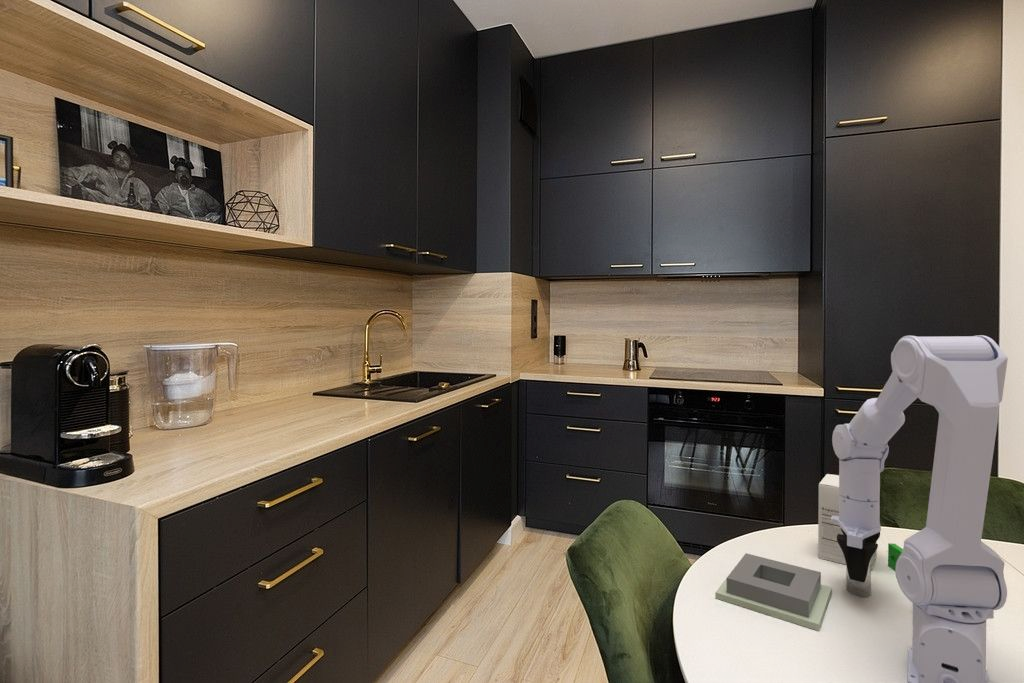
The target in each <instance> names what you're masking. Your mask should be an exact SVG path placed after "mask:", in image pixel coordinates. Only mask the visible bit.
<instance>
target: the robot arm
mask: <svg viewBox="0 0 1024 683" xmlns="http://www.w3.org/2000/svg"><path fill="white" fill-rule="evenodd" d="M890 364H891V370H892V372H891V375H890V376H889V378H888V380H887V381H886V382H885V384H884V386H883V388H882V390H881V392H880V393H879V395H878V397H872V398H869V399H866V401H864V402H863V404H862V405H861V407H860V408H859V409H858V411H857V413H856V414H855V415H854V416H853V418H852V419H851V420H850V422H849V423H844V424H837V425H836V426H835V427H834V430H833V431H832V438H831V441H832V442H831V443H832V447H833V451H834V454H835V455H836V457H837V458H838V463H839V466H838V470H839V471H838V475H839V516H832V517H831V522H833V523H837V524H838V525H839V526H840V527H841V531H842V533H843V535H842V534H838V535H837V542H838V544H839V546H840V547H841V549H842V551H843V554H844V557H845V561H846V565H845V567H846V566H847V571H848V575H849V578H850V579H852V580H855V581H859V582H863V583H864V582H865V580H866V577H867V572H868V567H869V563H870V560H871V557H872V556H873V554H874V553H875V551H876V550H877V551H878V548H879V544H878V543H877V544H875V543H876V541H878V540H879V539H880V537H881V530H882V526H881V521H880V518H881V517H880V514H881V512H880V511H881V510H880V508H881V507H880V506H881V505H880V501H881V500H880V499H881V498H880V495H881V493H880V492H881V490H880V489H881V473H882V472H884V470H885V461H886V459H887V458H888V455H889V452H890V450H889V448H890V447H889V445H888V442H889V441H890V440H891V439H892V438H893V437H894V436H895V434H897V432H898V431H899V430H900V429H901V427H903V425H904V424H905V421H906V416H905V414H904V411H905V410H906V409H907V408H908V407H909V406H911V404H912V403H914V401H916V400H917V399H919V400H920V401H921V402H922V403H925V404H928V405H930V406H932V407H934V408H935V410H936V411H937V412H938V422H937V429H936V438H935V439H936V441H935V447H934V448H935V449H934V457H933V465H932V472H931V480H930V491H929V497H928V498H929V499H928V506H927V514H926V516H927V517H926V523H925V527H923V528H922V529H921V530H919V531H917V532H915V533H914V534H912V535H910V536H908V537H907V538H905V540H904V541H903V548H902V549H903V551H902V553H901V555H900V556H899V558H898V560H897V562H896V569H895V570H896V572H895V577H896V580H897V584H898V586H899V588H900V590H901V592H902V593H903V595H904V596H905V597H906V599H907V600H908V601H910V603H912V634H911V635H912V638H911V639H912V642H911V643H912V644H911V645H909V646H908V656H907V657H908V658H907V659H908V660H907V683H990V679H989V678H990V677H989V673H988V670H987V663H986V662H987V620H990V619H991V620H992V619H994V618H995V616H994V612H995V611H997V610H1001V609H1002V608H1003V607H1004V605H1005V604H1006V602H1007V597H1008V588H1007V583H1006V580H1005V574H1004V568H1005V561H1004V560H1003V559H1002V558H1001V557H1000V555H999V554H998V553H997V552H996V551H995V550H993V548H991V547H990V546H989V545H988V544H986V543H984V542H983V541H982V538H983V537H982V536H983V532H984V531H983V530H984V523H985V515H986V508H987V501H988V493H989V488H990V487H989V486H990V481H991V473H992V465H993V457H994V451H995V442H996V436H997V431H998V430H997V429H998V422H999V417H1000V416H999V414H1000V403H1002V401H1003V396H1004V389H1005V388H1004V387H1005V380H1006V373H1007V368H1008V367H1007V366H1008V357H1007V355H1006V354H1005V352H1004V351H1003V350H1002V349H1001V347H1000V346H999V344H997V343H996V341H995V340H994V339H993V338H991V337H989V336H988V335H983V334H981V335H980V334H979V335H977V334H976V335H972V336H971V335H969V336H966V335H965V336H964V335H963V336H959V335H957V336H956V335H955V336H952V335H951V336H950V335H948V336H916V335H904V336H902V337H901V338H899V340H898V341H897V342H896V344H895V345H894V348H893V349H892V351H891V354H890Z"/></svg>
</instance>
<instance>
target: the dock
mask: <svg viewBox="0 0 1024 683" xmlns="http://www.w3.org/2000/svg"><path fill="white" fill-rule="evenodd" d="M832 594H833V586H828V585H826V584H822V572H821V571H817V570H813V569H809V568H805V567H802V566H798V565H793V564H791V563H785V562H782V561H778V560H774V559H771V558H766V557H763V556H758V555H756V554H755V555H754V554H751V553H747V552H746V553H744V555H743V556H742V558H741V559H740V560H739V561H738V563H736V565H735V566H734V568H733V569H732V570H731V572H730V573H729V574H728V575H727V576H726V578H725V579H724V581H723V582H722V583H721V584H720V585H719V587H718V588H717V590H716V591H715V595H714V596H715V599H716V600H720V601H723V602H726V603H729V604H733V605H736V606H740V607H742V608H745V609H747V610H751V611H754V612H758V613H761V614H763V615H767V616H771V617H774V618H776V619H780V620H783V621H786V622H789V623H791V624H792V623H793V624H796V625H800V626H802V627H805V628H809V629H811V630H814V631H818V632H819V631H820V630H821V626H822V624H823V620H824V617H825V615H826V612H827V610H828V605H829V602H830V599H831V597H832Z"/></svg>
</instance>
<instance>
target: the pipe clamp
mask: <svg viewBox="0 0 1024 683" xmlns="http://www.w3.org/2000/svg"><path fill="white" fill-rule="evenodd" d="M887 545H888V548H887V550H888V551H887V566H888V567H889V568H890V569H892V570H893V571H894V572H895V573H896V570H895V569H896V562H897V560H898V558H899V556H900V555H901V553H902V551H903V548H902V547H900V546H899V545H898V544H896V543H889V542H888V544H887Z"/></svg>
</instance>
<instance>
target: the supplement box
mask: <svg viewBox="0 0 1024 683" xmlns="http://www.w3.org/2000/svg"><path fill="white" fill-rule="evenodd" d="M832 516H839V474H830V473H827V474H825V476H824V477H823V478H822V479H821V481H819V483H818V520H817V521H818V522H817V523H818V532H817V534H818V539H817V540H818V541H817V542H818V544H817V545H818V548H817V550H818V553H817V554H818V557H817V558H818V559H821V560H822V559H823V560H826V561H828V562H833V563H838V564H842V565H845V566H846V561H845V557H844V554H843V551H842V549H841V547H840V546H839V544H838V542H837V535H838V534H842V535H843V533H842V531H841V527H840V526H839V525H838V524H837V523H833V522H831V517H832ZM877 541H878V540H877ZM877 541H876V543H875V544H878V542H877ZM877 555H878V549H877V550H876V551H875V553H874V554H873V556H872V557H871V572H872V571H873V569H874V565H875V562H876V559H877Z"/></svg>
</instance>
